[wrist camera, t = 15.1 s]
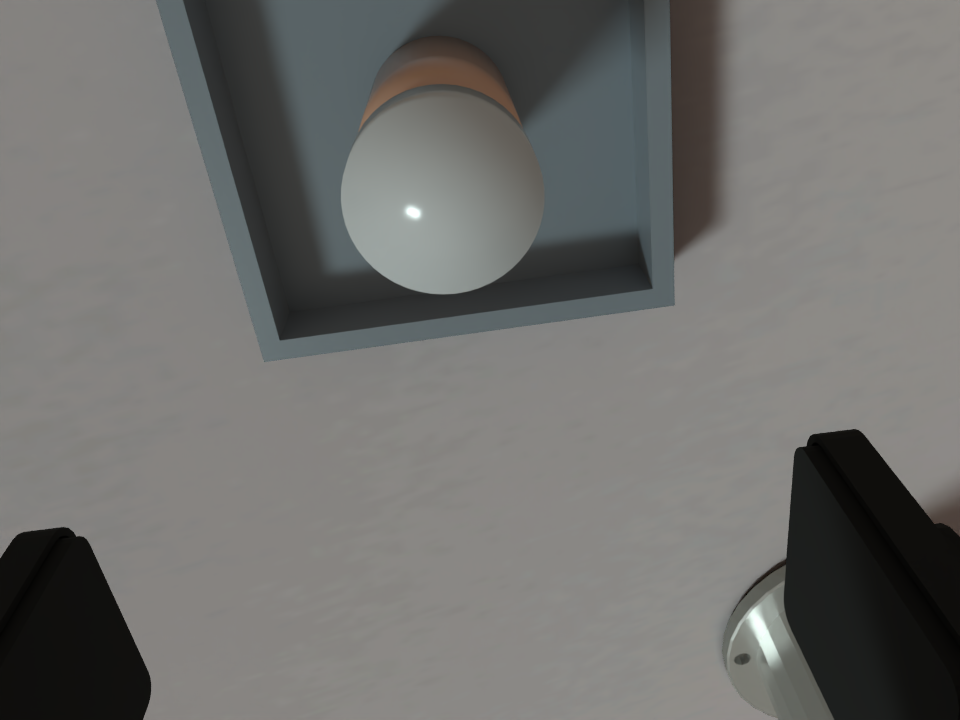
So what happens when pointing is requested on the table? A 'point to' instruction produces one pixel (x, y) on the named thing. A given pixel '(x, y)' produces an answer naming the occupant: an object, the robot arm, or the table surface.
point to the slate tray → (336, 121)
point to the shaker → (441, 171)
